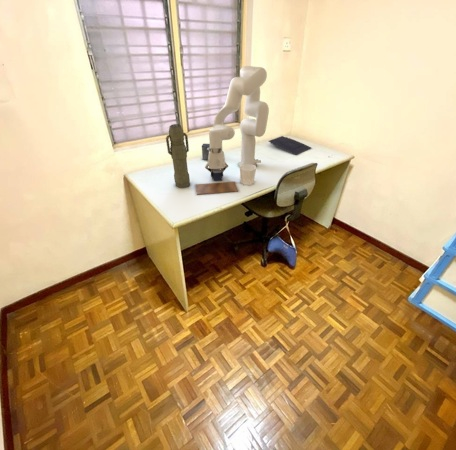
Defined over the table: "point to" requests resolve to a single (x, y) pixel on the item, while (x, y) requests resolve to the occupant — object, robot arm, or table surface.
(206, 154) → the small box
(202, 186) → the mat
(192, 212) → the table surface
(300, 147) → the black flat slab
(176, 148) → the thermos
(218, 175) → the block
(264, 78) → the robot arm
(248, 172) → the cup
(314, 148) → the table surface
